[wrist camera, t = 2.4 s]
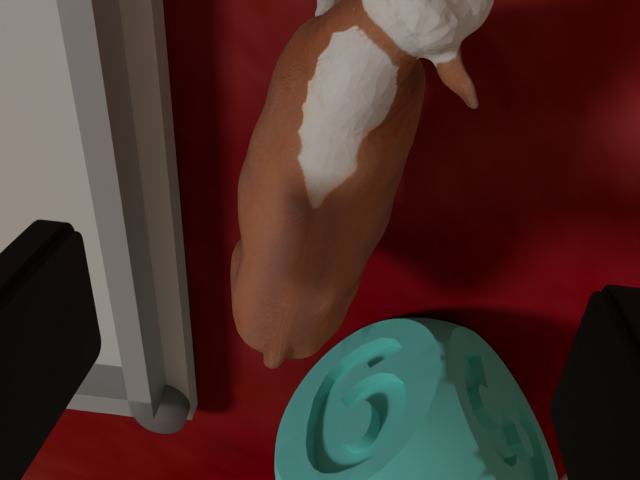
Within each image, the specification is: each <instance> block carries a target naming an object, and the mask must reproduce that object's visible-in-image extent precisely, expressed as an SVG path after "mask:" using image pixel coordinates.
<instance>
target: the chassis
mask: <svg viewBox="0 0 640 480" xmlns="http://www.w3.org/2000/svg"><path fill="white" fill-rule="evenodd" d="M39 219H42V220H51V221H59V222H68V223H70V224H71V225H72V226H73V228H74V230H75V231H78V232H80V233H81V235H82V238H83V242H84V247H85V253H86V258H87V264H88V269H89V275H90V280H91V286H92V291H93V297H94V302H95V308H96V313H97V319H98V324H99V329H100V335H101V350H100V354H99V356H98V358H97V360H96V362H95V363H94V365H93V366H92V368H91V370H90V371H89V373H88V374H87V376H86V377H85V379H84V381H83V382H82V384H81V385H80V387H79V389H78V390H77V392H76V393H75V395H74V396H73V398H72V400H71V401H70V403H69V404H68V406H67V407H66V408H68V409H76V410H84V411H92V412H100V413H108V414H116V415H124V416H132V417H135V419H136V420H137V421H138V422H139V423H140V424H141V425H142V426H143V427H145V428H146V429H148V430H151V431H153V432H156V433H162V434H170V433H175V432H177V431H179V430H181V429H182V428H183V426H184V424H185V422H186V419H187V420H192V418H193V415H194V412H195V409H196V407H197V404H198V403H197V391H196V379H195V368H194V356H193V345H192V333H191V322H190V310H189V299H188V287H187V275H186V264H185V252H184V241H183V229H182V218H181V206H180V194H179V183H178V171H177V160H176V148H175V137H174V125H173V113H172V102H171V90H170V79H169V67H168V56H167V44H166V33H165V21H164V9H163V0H0V253H1V252H2V251H3V250H4V249H5V248H6V247H7V246H8V245H9V244H10V243H11V242H13V241H14V240H15V239H16V238H17V237H18V236H19V235H20V234H21V233H22V232H23V231H24V230H25V229H26V228H27V227H29V226H30V225H31V224H32V223H33V222H34V221H36V220H39Z"/></svg>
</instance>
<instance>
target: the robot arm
mask: <svg viewBox="0 0 640 480" xmlns="http://www.w3.org/2000/svg"><path fill="white" fill-rule="evenodd" d="M100 350H101V335H100V329H99V324H98V319H97V313H96V308H95V302H94V297H93V291H92V286H91V280H90V275H89V269H88V264H87V258H86V253H85V247H84V242H83V238H82V235H81V233H80V232H78V231H75V230H74V228H73V226H72V225H71V224H70V223H68V222H59V221H51V220H42V219H39V220H36V221H34V222H33V223H32V224H31V225H30V226H29V227H27V228H26V229H25V230H24V231H23V232H22V233H21V234H20V235H19V236H18V237H17V238H16V239H15V240H14V241H13V242H11V243H10V244H9V245H8V246H7V247H6V248H5V249H4V250H3V251H2V252H1V253H0V480H21V478H22V477H23V475H24V474H25V472H26V470H27V469H28V467H29V466H30V464H31V462H32V461H33V459H34V458H35V456H36V455H37V453H38V451H39V450H40V448H41V447H42V445H43V444H44V442H45V440H46V439H47V437H48V436H49V434H50V433H51V431H52V429H53V428H54V426H55V425H56V423H57V422H58V420H59V418H60V417H61V415H62V414H63V412H64V411H65V409H66V407H67V406H68V404H69V403H70V401H71V400H72V398H73V396H74V395H75V393H76V392H77V390H78V389H79V387H80V385H81V384H82V382H83V381H84V379H85V377H86V376H87V374H88V373H89V371H90V370H91V368H92V366H93V365H94V363H95V362H96V360H97V358H98V356H99V354H100ZM551 416H552V421H553V425H554V429H555V432H556V436H557V440H558V444H559V447H560V451H561V455H562V459H563V462H564V466H565V470H566V474H567V477H568V480H640V288H635V287H627V286H618V285H606V286H605V287H604V288H603V290H602V292H599V291H595V292H593V293H592V295H591V297H590V299H589V302H588V304H587V307H586V310H585V312H584V315H583V318H582V320H581V323H580V326H579V329H578V331H577V334H576V337H575V339H574V342H573V345H572V347H571V350H570V353H569V355H568V358H567V361H566V364H565V366H564V369H563V372H562V374H561V377H560V380H559V382H558V385H557V388H556V390H555V393H554V396H553V399H552V404H551Z"/></svg>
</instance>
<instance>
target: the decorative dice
mask: <svg viewBox="0 0 640 480" xmlns="http://www.w3.org/2000/svg"><path fill="white" fill-rule="evenodd" d="M275 477H276V480H559V479H558V476H557V472H556V468H555V465H554V462H553V459H552V456H551V453H550V451H549V448H548V445H547V443H546V440H545V438H544V435H543V433H542V431H541V428H540V426H539V424H538V422H537V419H536V417H535V415H534V413H533V411H532V409H531V407H530V405H529V403H528V401H527V400H526V398H525V396H524V394H523V392H522V391H521V389H520V387H519V386H518V384H517V382H516V381H515V379H514V377H513V376H512V374H511V373H510V371H509V370H508V368H507V367H506V366H505V364H504V363H503V361H502V360H501V359H500V357H499V356H498V355H497V354H496V352H495V351H494V350H493V349H492V348H491V347H490V346H489V345H488V343H487V342H486V341H485V340H483V339H482V338H481V337H480V336H479V335H478V334H476V333H475V332H473V331H472V330H470V329H468V328H465V327H463V326H460V325H456V324H453V323H450V322H446V321H442V320H436V319H430V318H413V317H409V318H398V319H389V320H384V321H380V322H377V323H374V324H371V325H369V326H366V327H364V328H362V329H360V330H358V331H356V332H355V333H353V334H351V335H350V336H348V337H347V338H345V339H344V340H342V341H341V342H340V343H338V344H337V345H336V346H335V347H333V348H332V349H331V350H330V351H329V352H328V353H327V354H325V355H324V356H323V357H322V358H321V359H320V360H319V361H318V362H317V364H316V365H315V366H314V367H313V368H312V369H311V370H310V372H309V373H308V374H307V375H306V377H305V378H304V379H303V381H302V382H301V384H300V385H299V387H298V388H297V390H296V391H295V393H294V395H293V396H292V398H291V400H290V402H289V404H288V406H287V408H286V410H285V412H284V415H283V417H282V420H281V423H280V426H279V430H278V434H277V439H276V448H275Z"/></svg>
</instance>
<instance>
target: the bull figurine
mask: <svg viewBox="0 0 640 480" xmlns="http://www.w3.org/2000/svg"><path fill="white" fill-rule="evenodd" d="M493 2H494V0H317V10H316V12H315V17H313V18H311V19H309V20H308V21H307V22H305V23H304V24H303V25H302V26H301V27H300V28H299V29H298V30H297V31H296V32H295V33H294V35H293V36H292V37H291V39H290V41H289V42H288V44H287V45H286V47H285V49H284V50H283V52H282V53H281V55H280V57H279V59H278V61H277V64H276V66H275V69H274V72H273V74H272V78H271V81H270V85H269V89H268V93H267V98H266V102H265V106H264V108H263V110H262V113H261V115H260V117H259V119H258V121H257V123H256V126H255V128H254V131H253V134H252V137H251V140H250V143H249V147H248V151H247V156H246V159H245V161H244V164H243V167H242V170H241V174H240V178H239V184H238V218H239V227H240V233H241V239H240V240H239V241H238V243H237V244H236V246H235V248H234V251H233V254H232V259H231V295H232V309H233V317H234V321H235V325H236V328H237V331H238V333H239V335H240V336H241V337H242V339H243V340H244V341H245V342H246V343H247V344H248V345H249V346H250V347H252V348H254V349H256V350H258V351H260V352H262V353H263V354H264V364H265V365H266V366H267V367H268V368H272V369H274V368H277V367H279V366H280V365H281V363H282V362H283V361H284V360H285V359H302V358H306V357H309V356H311V355H313V354H315V353H316V352H317V351H318V350H319V349H320V348H321V347H322V346H323V345H324V343H325V342H327V341H328V340H329V339H330V338H331V337H332V336H333V335H334V334H335V332H336V331H337V330H338V329H339V327H340V326H341V324H342V322H343V320H344V318H345V315H346V312H347V310H348V308H349V305H350V304H351V302H352V300H353V298H354V296H355V294H356V292H357V290H358V287H359V285H360V281H361V275H362V271H363V269H364V267H365V265H366V263H367V261H368V259H369V257H370V255H371V254H372V252H373V250H374V249H375V247H376V246H377V244H378V243H379V241H380V239H381V238H382V236H383V234H384V232H385V230H386V227H387V225H388V223H389V220H390V216H391V212H392V208H393V202H394V198H395V195H396V192H397V189H398V186H399V183H400V180H401V177H402V174H403V171H404V167H405V164H406V160H407V157H408V154H409V151H410V149H411V147H412V145H413V141H414V138H415V134H416V130H417V127H418V123H419V119H420V115H421V110H422V105H423V100H424V95H425V86H426V75H425V70H424V67H423V65H422V62H421V60H420V58H426V59H429V60H430V61H432V62H433V64H434V65H435V67H436V69H437V72H438V75H439V77H440V78H441V80H442V82H443V83H444V84H445V85H446V86H447V87H449V88H450V89H451V90H452V91H454V92H455V93H456V94H457V95H459V96H460V97H461V98H462V99H463V100H464V102H465V103H466V104H467V106H468V107H470V108H472V109H476V108H477V107H478V98H477V95H476V91H475V87H474V84H473V81H472V79H471V78H470V76H469V74H468V73H467V71H466V69H465V67H464V65H463V62H462V58H461V42H462V41H463V40H464V39H465V38H466V37H467V36H469V35H470V34H471V33H473V32H474V31H476V30H477V29H478V28H479V27H480V26H481V25H482V24H483V23H484V21H485V20H486V18H487V16H488V14H489V12H490V10H491V8H492V5H493Z"/></svg>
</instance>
